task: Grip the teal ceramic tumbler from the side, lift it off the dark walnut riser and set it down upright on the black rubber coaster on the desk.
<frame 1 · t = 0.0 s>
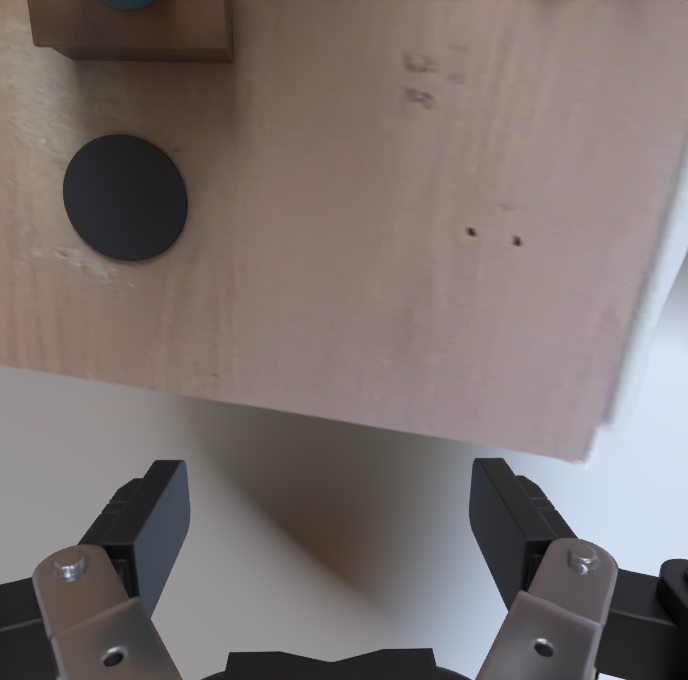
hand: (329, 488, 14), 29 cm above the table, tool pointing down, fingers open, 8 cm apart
coaster: (126, 199, 39), on the table
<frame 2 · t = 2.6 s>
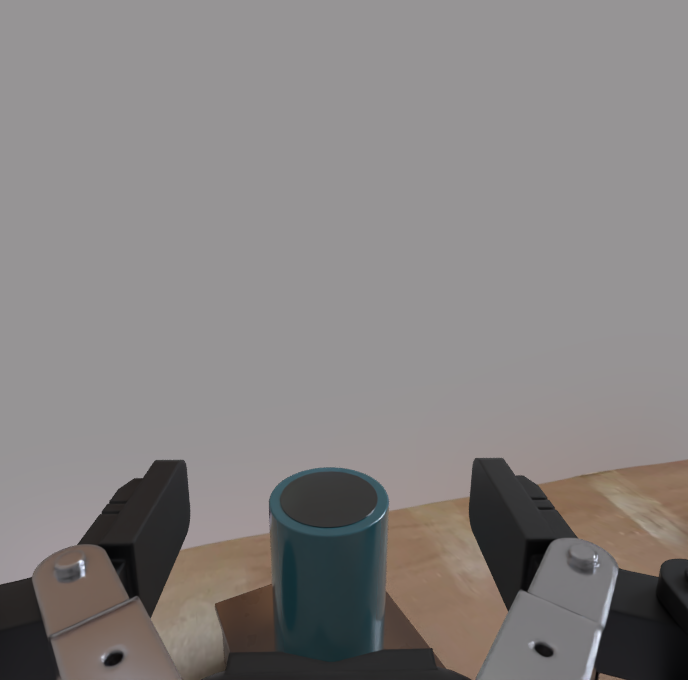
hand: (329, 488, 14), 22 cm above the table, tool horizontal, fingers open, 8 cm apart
tumbler: (329, 646, 29), point 4 cm above the table, touching riser
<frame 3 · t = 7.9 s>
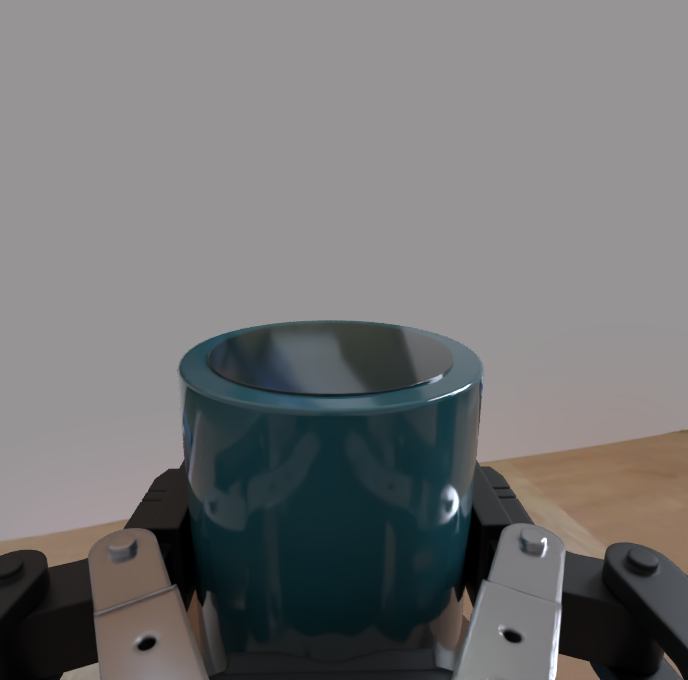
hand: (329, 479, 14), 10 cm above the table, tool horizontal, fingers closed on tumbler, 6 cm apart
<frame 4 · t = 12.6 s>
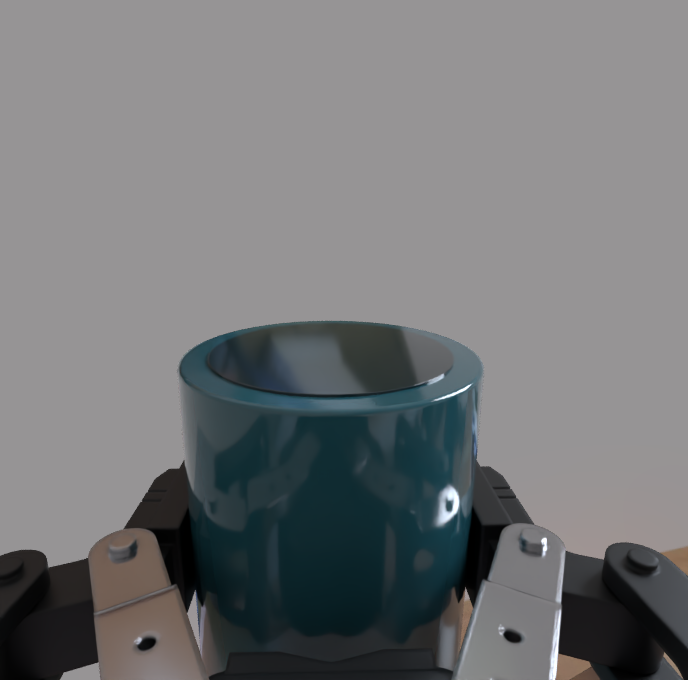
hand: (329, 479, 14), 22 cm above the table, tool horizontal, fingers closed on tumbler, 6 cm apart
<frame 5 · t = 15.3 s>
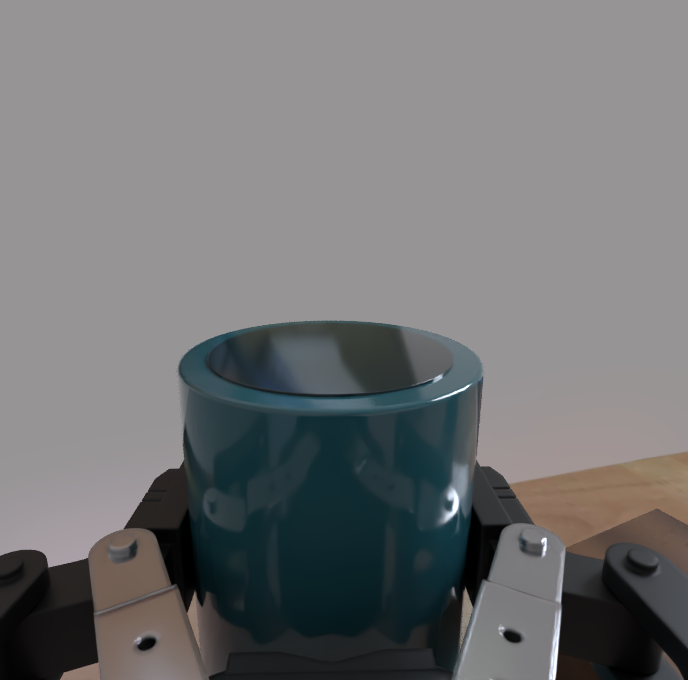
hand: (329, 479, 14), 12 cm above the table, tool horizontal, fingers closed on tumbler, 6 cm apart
when the fingers open (6 cm above the table, at t = 17.6 s): tumbler stays where it is, resting on coaster.
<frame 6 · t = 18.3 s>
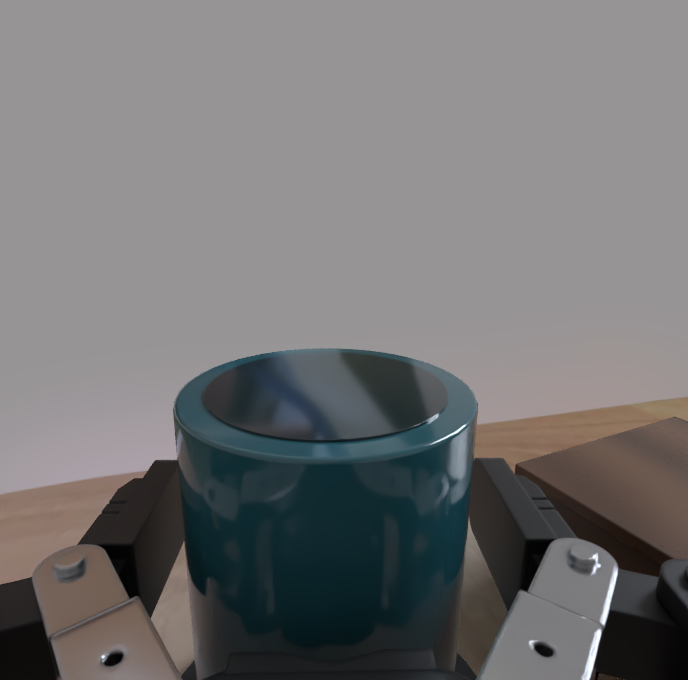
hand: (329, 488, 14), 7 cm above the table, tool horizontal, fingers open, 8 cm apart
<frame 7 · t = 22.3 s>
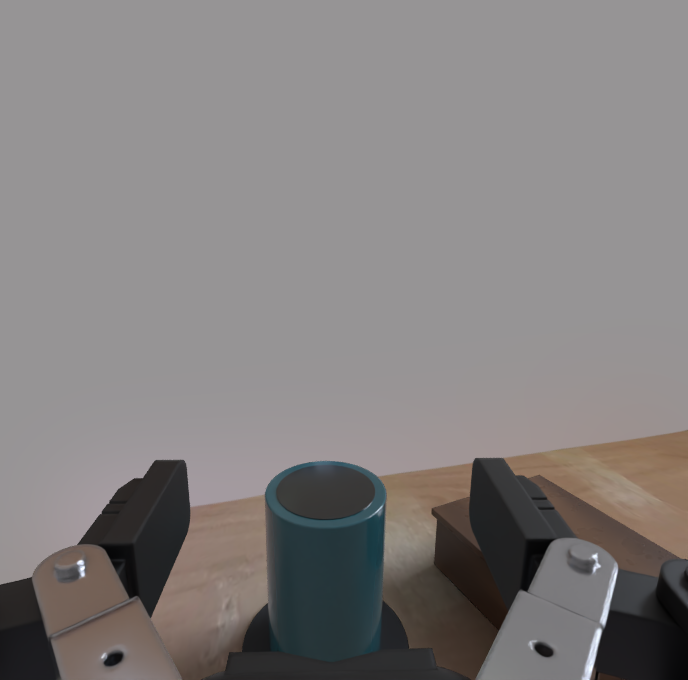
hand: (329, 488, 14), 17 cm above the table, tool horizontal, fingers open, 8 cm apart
riser: (549, 597, 33), on the table
tumbler: (325, 643, 29), resting on coaster
coaster: (325, 647, 29), on the table
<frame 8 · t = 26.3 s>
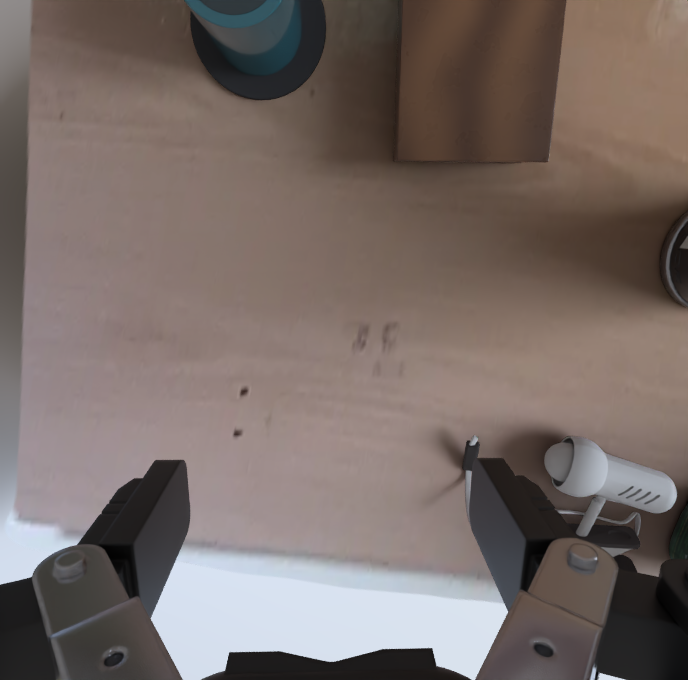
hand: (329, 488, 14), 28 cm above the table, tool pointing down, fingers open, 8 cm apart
riser: (462, 76, 37), on the table
tumbler: (257, 26, 35), resting on coaster
clip-on lamp: (542, 481, 46), on the table
coaster: (259, 27, 35), on the table
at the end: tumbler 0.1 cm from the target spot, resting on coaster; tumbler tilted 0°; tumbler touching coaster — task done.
